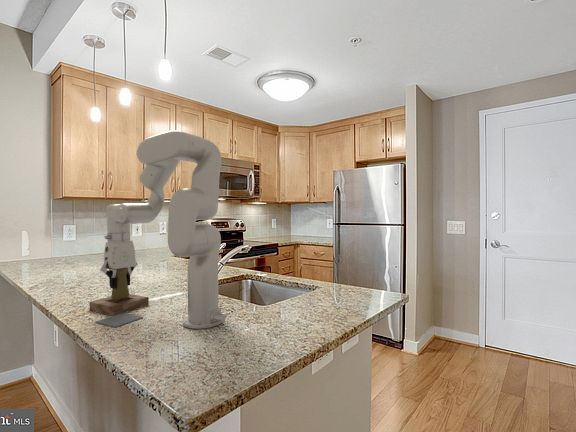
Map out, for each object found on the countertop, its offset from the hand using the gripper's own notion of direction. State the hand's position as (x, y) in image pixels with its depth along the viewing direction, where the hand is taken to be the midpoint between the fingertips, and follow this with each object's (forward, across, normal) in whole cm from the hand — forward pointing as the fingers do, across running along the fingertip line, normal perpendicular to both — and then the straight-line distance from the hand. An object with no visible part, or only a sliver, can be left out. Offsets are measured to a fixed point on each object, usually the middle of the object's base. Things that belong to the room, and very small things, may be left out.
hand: (120, 286), depth 119 cm
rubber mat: (+8, -9, -12) cm, 17 cm away
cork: (+4, 0, 0) cm, 4 cm away
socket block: (+8, 0, 0) cm, 8 cm away
